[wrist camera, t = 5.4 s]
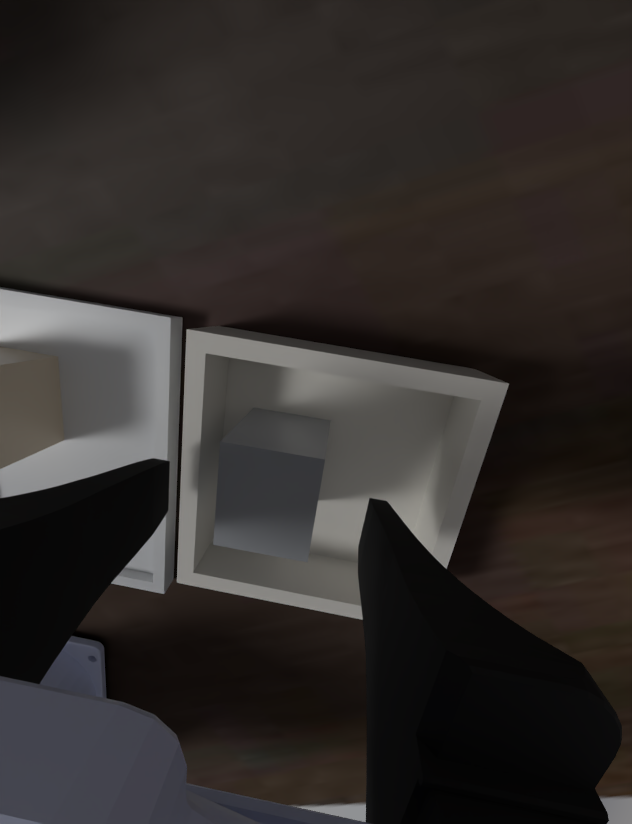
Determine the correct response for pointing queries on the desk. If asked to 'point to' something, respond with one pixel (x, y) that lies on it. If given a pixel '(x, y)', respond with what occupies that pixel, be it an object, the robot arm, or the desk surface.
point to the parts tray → (103, 403)
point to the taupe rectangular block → (28, 404)
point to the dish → (331, 455)
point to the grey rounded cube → (270, 483)
